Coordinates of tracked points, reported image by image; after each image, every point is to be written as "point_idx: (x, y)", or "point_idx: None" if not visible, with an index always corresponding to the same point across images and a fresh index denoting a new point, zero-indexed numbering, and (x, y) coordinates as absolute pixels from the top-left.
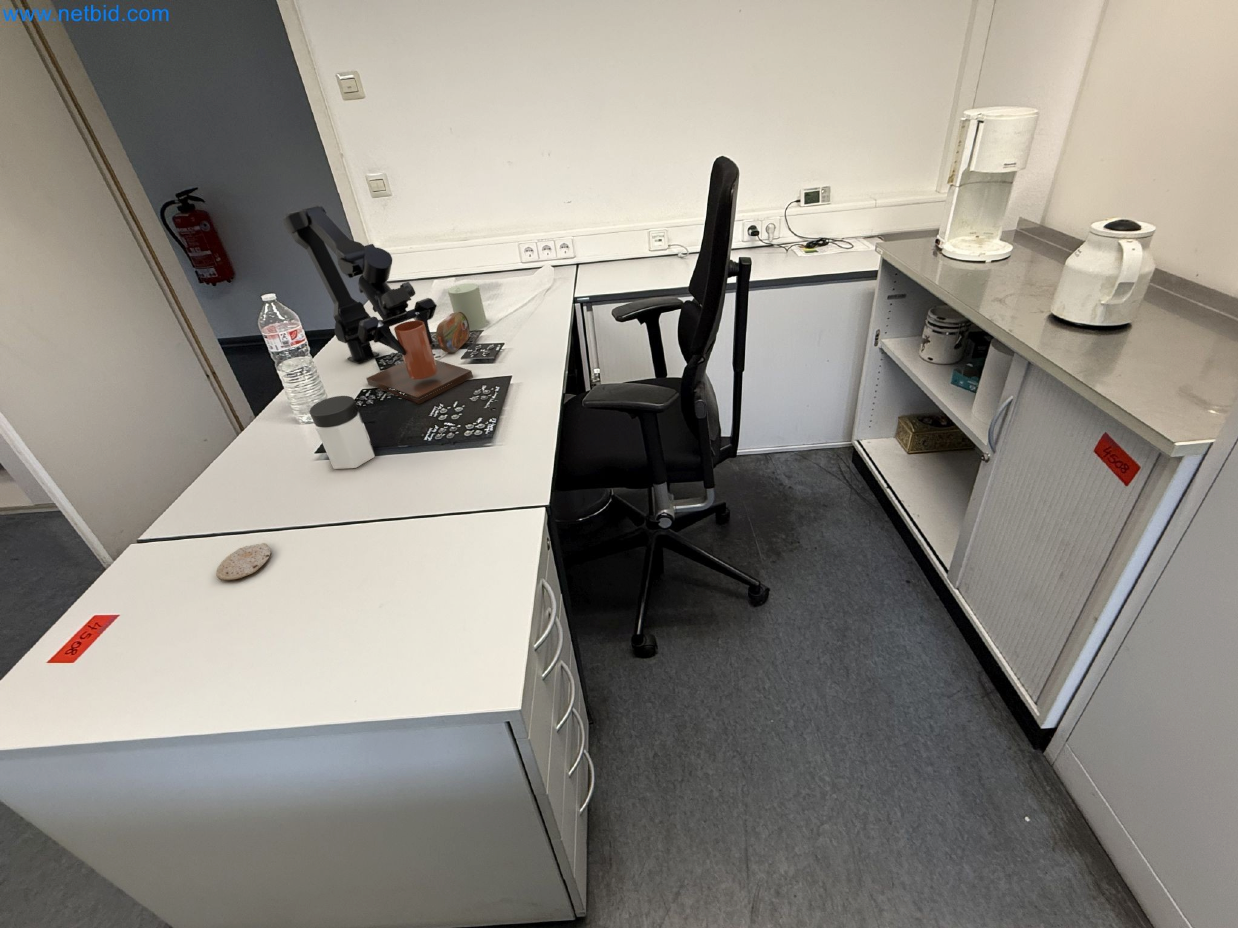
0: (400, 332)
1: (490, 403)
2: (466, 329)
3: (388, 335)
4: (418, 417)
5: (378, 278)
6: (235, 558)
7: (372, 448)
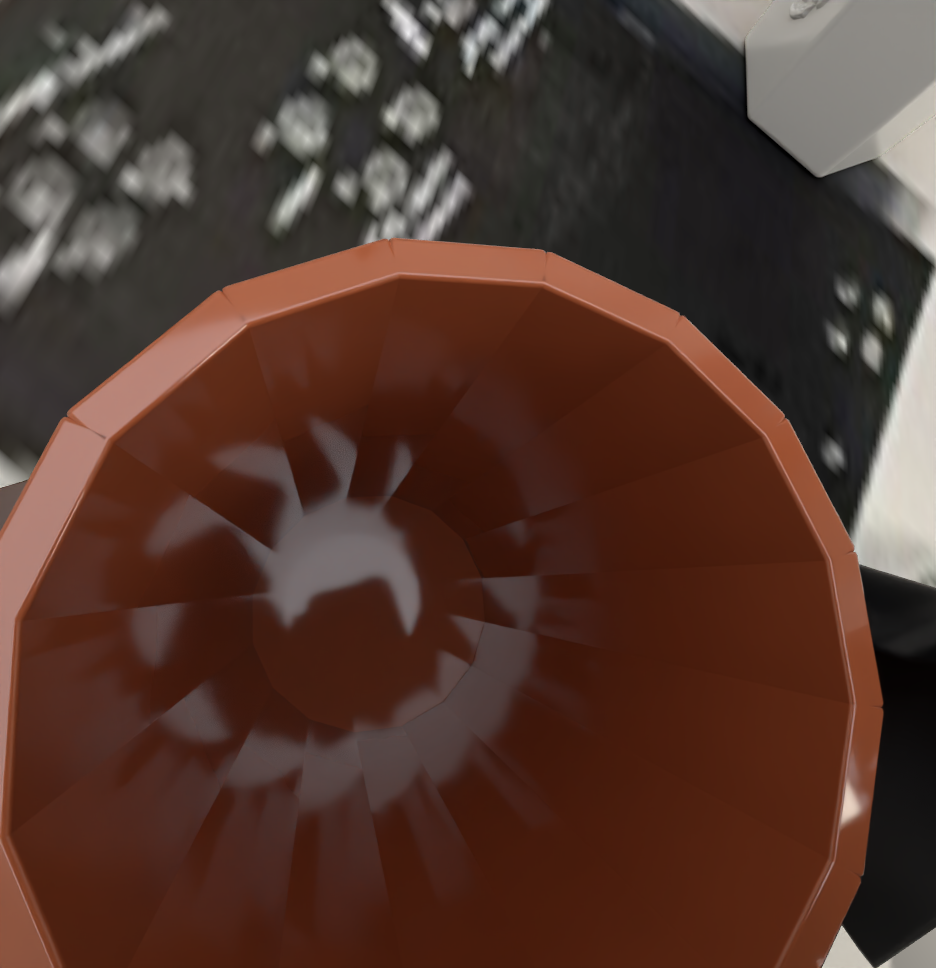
0: (750, 409)
1: (108, 34)
2: None
3: (924, 608)
4: (522, 217)
5: None
6: None
7: (758, 55)
